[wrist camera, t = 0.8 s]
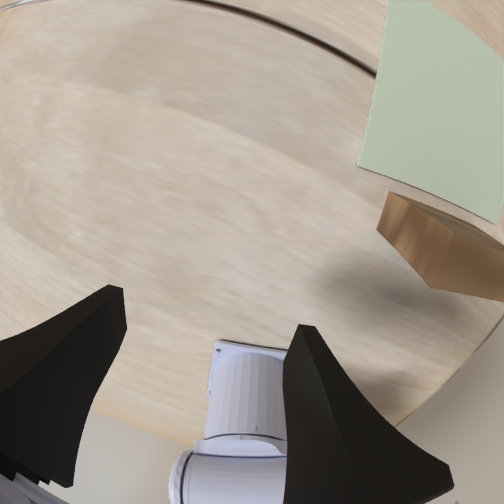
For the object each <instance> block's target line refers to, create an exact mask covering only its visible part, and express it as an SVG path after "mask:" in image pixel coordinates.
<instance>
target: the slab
mask: <svg viewBox="0 0 504 504" xmlns="http://www.w3.org/2000/svg"><path fill="white" fill-rule="evenodd" d="M376 230H377V231H378V232H379V233H380V234H381V235H382V236H383V237H384V238H385V239H386V240H387V241H388V242H389V243H390V244H391V245H392V246H393V247H394V248H395V249H396V250H397V251H398V252H399V253H400V254H401V255H402V256H403V257H404V259H405V260H406V261H407V262H408V263H409V264H410V265H411V266H412V267H413V268H414V269H415V271H416V272H417V273H418V274H419V275H420V276H421V277H422V278H423V280H424V281H425V282H426V283H427V284H428V285H429V287H431V288H436V289H441V290H446V291H451V292H456V293H461V294H466V295H471V296H476V297H481V298H486V299H491V300H496V301H502V302H504V245H503V244H501V243H500V242H498V241H497V240H495V239H494V238H492V237H491V236H489V235H488V234H486V233H485V232H483V231H482V230H480V229H479V228H477V227H476V226H474V225H472V224H470V223H468V222H466V221H463V220H461V219H459V218H457V217H454V216H452V215H450V214H447V213H445V212H443V211H440V210H438V209H435V208H433V207H430V206H428V205H425V204H423V203H420V202H417V201H415V200H412V199H409V198H407V197H404V196H401V195H398V194H396V193H393V192H390V191H389V193H388V196H387V199H386V203H385V206H384V209H383V212H382V215H381V218H380V221H379V224H378V227H377V229H376Z"/></svg>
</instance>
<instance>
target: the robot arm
mask: <svg viewBox="0 0 504 504" xmlns="http://www.w3.org/2000/svg"><path fill="white" fill-rule="evenodd" d="M126 331H127V324H126V316H125V306H124V295H123V288H120V287H117V286H113V285H107V286H105V287H103V288H101V289H100V290H98V291H96V292H94V293H93V294H91V295H90V296H88V297H86V298H85V299H83V300H81V301H80V302H78V303H76V304H75V305H73V306H71V307H70V308H68V309H66V310H65V311H63V312H61V313H59V314H58V315H56V316H54V317H52V318H50V319H49V320H47V321H45V322H43V323H41V324H39V325H37V326H35V327H33V328H31V329H29V330H27V331H25V332H22V333H20V334H18V335H15V336H12V337H10V338H7V339H4V340H1V341H0V504H69V503H67V502H65V501H63V500H61V499H60V498H58V497H56V496H54V495H53V494H51V493H49V492H48V491H46V490H44V489H43V488H41V487H39V486H38V484H39V481H40V480H41V481H42V482H44V483H46V484H47V485H49V483H50V480H52V481H54V482H55V483H57V484H59V485H61V486H62V487H64V488H68V487H71V486H73V480H74V472H75V464H76V458H77V453H78V448H79V444H80V440H81V436H82V432H83V429H84V425H85V422H86V419H87V416H88V413H89V410H90V407H91V404H92V402H93V399H94V397H95V395H96V393H97V391H98V389H99V387H100V385H101V383H102V381H103V379H104V378H105V376H106V374H107V372H108V370H109V368H110V366H111V364H112V363H113V361H114V359H115V357H116V355H117V353H118V351H119V349H120V346H121V344H122V341H123V339H124V336H125V333H126ZM220 349H221V350H220ZM206 397H207V398H208V399H209V403H208V409H207V414H206V420H205V426H204V432H203V437H202V440H195V443H194V448H193V450H186V451H184V452H183V453H182V454H181V455H180V456H179V457H178V458H177V459H176V460H175V462H174V464H173V466H172V469H171V472H170V477H169V488H168V490H169V499H170V502H171V504H424V503H426V502H429V501H431V500H433V499H435V498H437V497H439V496H441V495H443V494H445V493H447V492H448V491H450V490H452V489H453V488H454V483H453V479H452V475H451V472H450V468H449V465H448V464H446V463H444V462H443V461H441V460H439V459H437V458H436V457H434V456H432V455H430V454H429V453H427V452H425V451H424V450H422V449H421V448H420V447H418V446H417V445H415V444H414V443H413V442H411V441H410V440H409V439H407V438H406V437H405V436H404V435H402V434H401V433H400V432H399V431H398V430H397V429H395V428H394V427H393V426H392V425H391V424H390V423H389V422H388V421H387V420H386V419H385V418H384V417H382V416H381V415H380V414H379V412H378V411H377V410H376V409H375V408H374V407H373V406H372V405H371V404H370V403H369V402H368V401H367V399H366V398H365V397H364V396H363V395H362V393H361V392H360V391H359V390H358V388H357V387H356V386H355V385H354V383H353V382H352V381H351V379H350V378H349V377H348V375H347V374H346V373H345V371H344V370H343V368H342V367H341V365H340V364H339V362H338V361H337V360H336V358H335V357H334V355H333V353H332V352H331V350H330V349H329V347H328V346H327V344H326V343H325V341H324V340H323V338H322V336H321V335H320V333H319V332H318V330H317V329H316V327H315V326H309V325H302V324H299V325H298V327H297V330H296V332H295V335H294V337H293V339H292V342H291V344H290V347H289V349H288V351H283V350H276V349H269V348H262V347H256V346H250V345H244V344H238V343H232V342H227V341H222V340H218V341H216V342H215V344H214V350H213V356H212V363H211V369H210V375H209V382H208V388H207V395H206ZM453 504H459V503H458V502H455V503H453Z"/></svg>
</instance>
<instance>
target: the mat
mask: <svg viewBox="0 0 504 504" xmlns="http://www.w3.org/2000/svg"><path fill="white" fill-rule="evenodd" d="M356 166H359V167H362V168H365V169H368V170H371V171H374V172H377V173H380V174H382V175H385V176H388V177H391V178H393V179H396V180H399V181H401V182H404V183H407V184H409V185H412V186H414V187H417V188H419V189H422V190H424V191H426V192H429V193H431V194H434V195H436V196H438V197H440V198H443V199H445V200H447V201H449V202H451V203H454V204H456V205H458V206H460V207H462V208H464V209H466V210H468V211H470V212H472V213H474V214H476V215H478V216H480V217H482V218H484V219H486V220H488V221H489V222H491V223H493V224H495V225H497V223H498V220H499V217H500V214H501V211H502V207H503V204H504V59H502V58H501V57H500V56H499V55H498V54H497V53H496V52H495V51H494V50H493V49H492V48H491V47H489V46H488V45H487V44H486V43H485V42H484V41H482V40H481V39H480V38H479V37H477V36H476V35H475V34H474V33H472V32H471V31H470V30H469V29H467V28H466V27H465V26H463V25H462V24H461V23H459V22H458V21H456V20H455V19H453V18H452V17H451V16H449V15H448V14H446V13H445V12H443V11H441V10H440V9H438V8H437V7H435V6H434V5H432V4H430V3H429V2H427V1H425V0H386V10H385V20H384V28H383V36H382V44H381V50H380V57H379V63H378V69H377V75H376V80H375V86H374V91H373V96H372V101H371V106H370V111H369V115H368V120H367V124H366V129H365V133H364V137H363V141H362V145H361V149H360V153H359V157H358V161H357V165H356Z"/></svg>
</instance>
